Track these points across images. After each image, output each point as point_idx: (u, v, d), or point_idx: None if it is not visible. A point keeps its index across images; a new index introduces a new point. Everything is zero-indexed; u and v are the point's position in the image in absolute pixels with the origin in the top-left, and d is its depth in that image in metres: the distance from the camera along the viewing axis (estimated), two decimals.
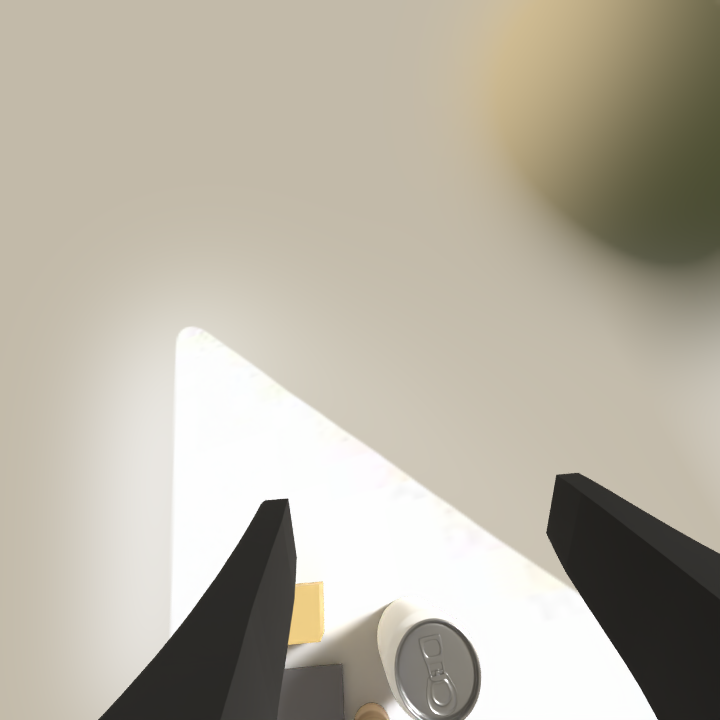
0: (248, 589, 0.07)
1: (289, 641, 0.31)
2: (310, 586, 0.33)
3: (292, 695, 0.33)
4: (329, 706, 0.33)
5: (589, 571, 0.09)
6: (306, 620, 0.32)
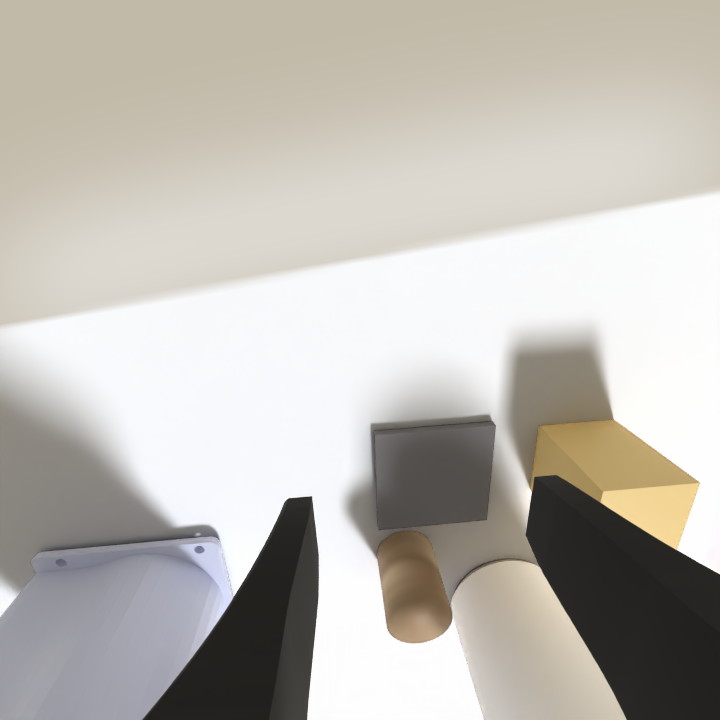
0: (282, 586, 0.07)
1: None
2: (676, 544, 0.16)
3: (458, 456, 0.19)
4: (437, 507, 0.20)
5: (565, 573, 0.09)
6: None
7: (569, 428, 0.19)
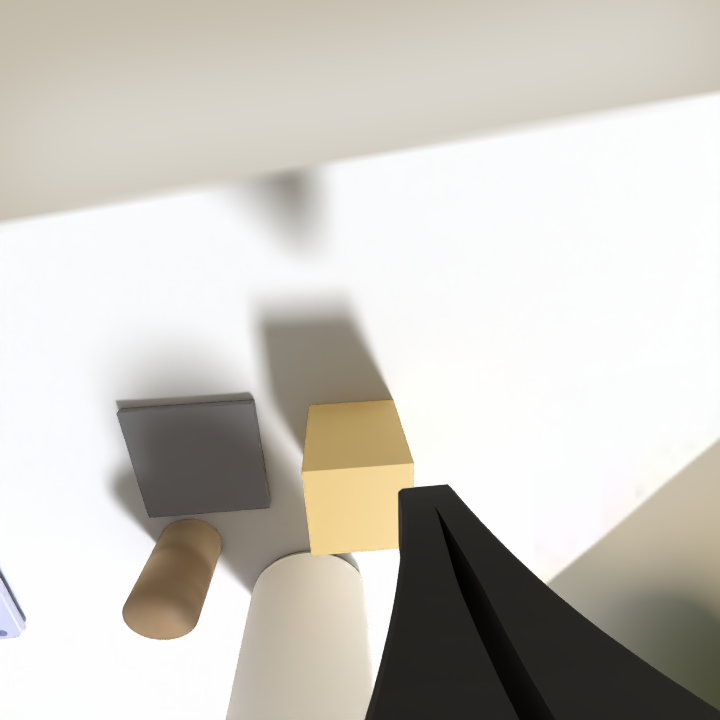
0: (443, 570, 0.07)
1: (311, 505, 0.14)
2: None
3: (219, 438, 0.18)
4: (210, 493, 0.19)
5: None
6: (349, 531, 0.15)
7: (337, 408, 0.18)
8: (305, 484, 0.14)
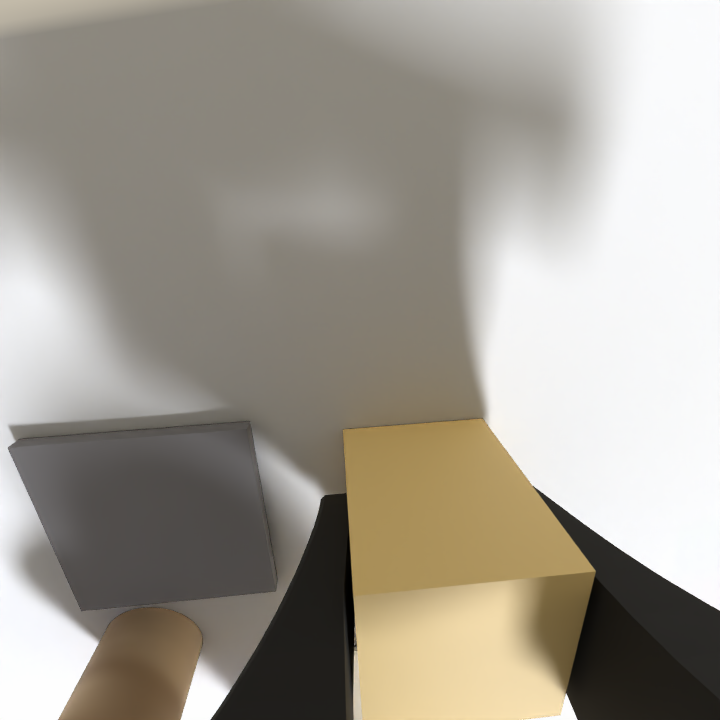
0: (334, 580, 0.07)
1: (370, 657, 0.07)
2: (562, 692, 0.07)
3: (191, 486, 0.11)
4: (179, 573, 0.12)
5: None
6: (441, 696, 0.07)
7: (392, 436, 0.10)
8: (360, 619, 0.06)
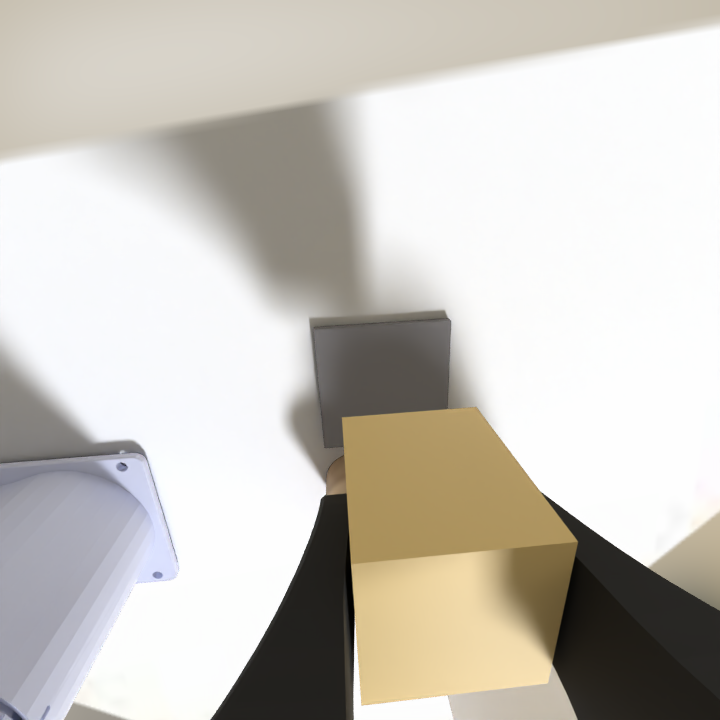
0: (334, 580, 0.07)
1: (367, 623, 0.07)
2: (548, 660, 0.08)
3: (410, 359, 0.17)
4: None
5: None
6: (435, 664, 0.08)
7: (389, 423, 0.11)
8: (357, 586, 0.07)
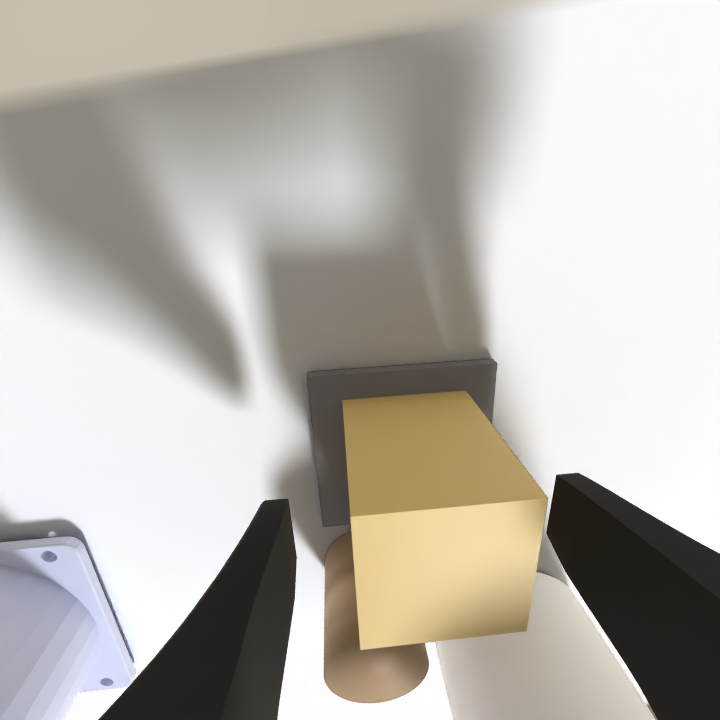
0: (248, 589, 0.07)
1: (364, 572, 0.08)
2: (526, 609, 0.09)
3: None
4: None
5: (589, 571, 0.09)
6: (424, 611, 0.09)
7: (386, 404, 0.12)
8: (356, 538, 0.08)
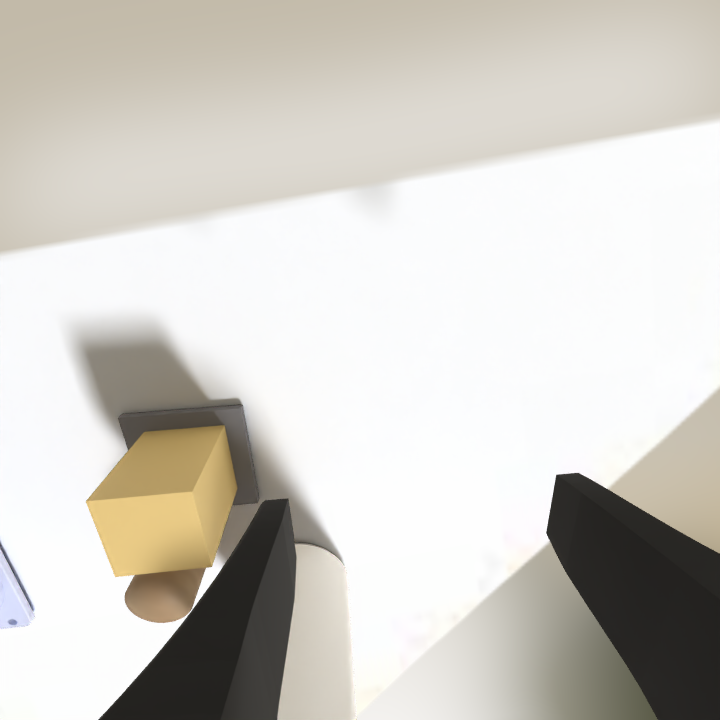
0: (248, 589, 0.07)
1: (102, 531, 0.15)
2: (206, 553, 0.16)
3: None
4: None
5: (589, 571, 0.09)
6: (145, 554, 0.16)
7: (166, 435, 0.19)
8: (92, 512, 0.15)
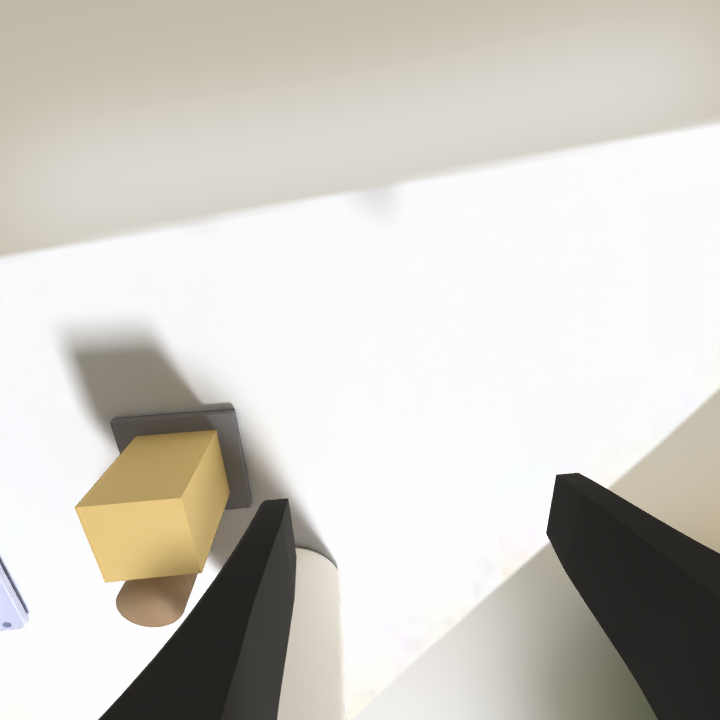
0: (248, 589, 0.07)
1: (92, 537, 0.15)
2: (196, 559, 0.16)
3: None
4: None
5: (589, 571, 0.09)
6: (135, 560, 0.16)
7: (158, 439, 0.19)
8: (81, 518, 0.15)
